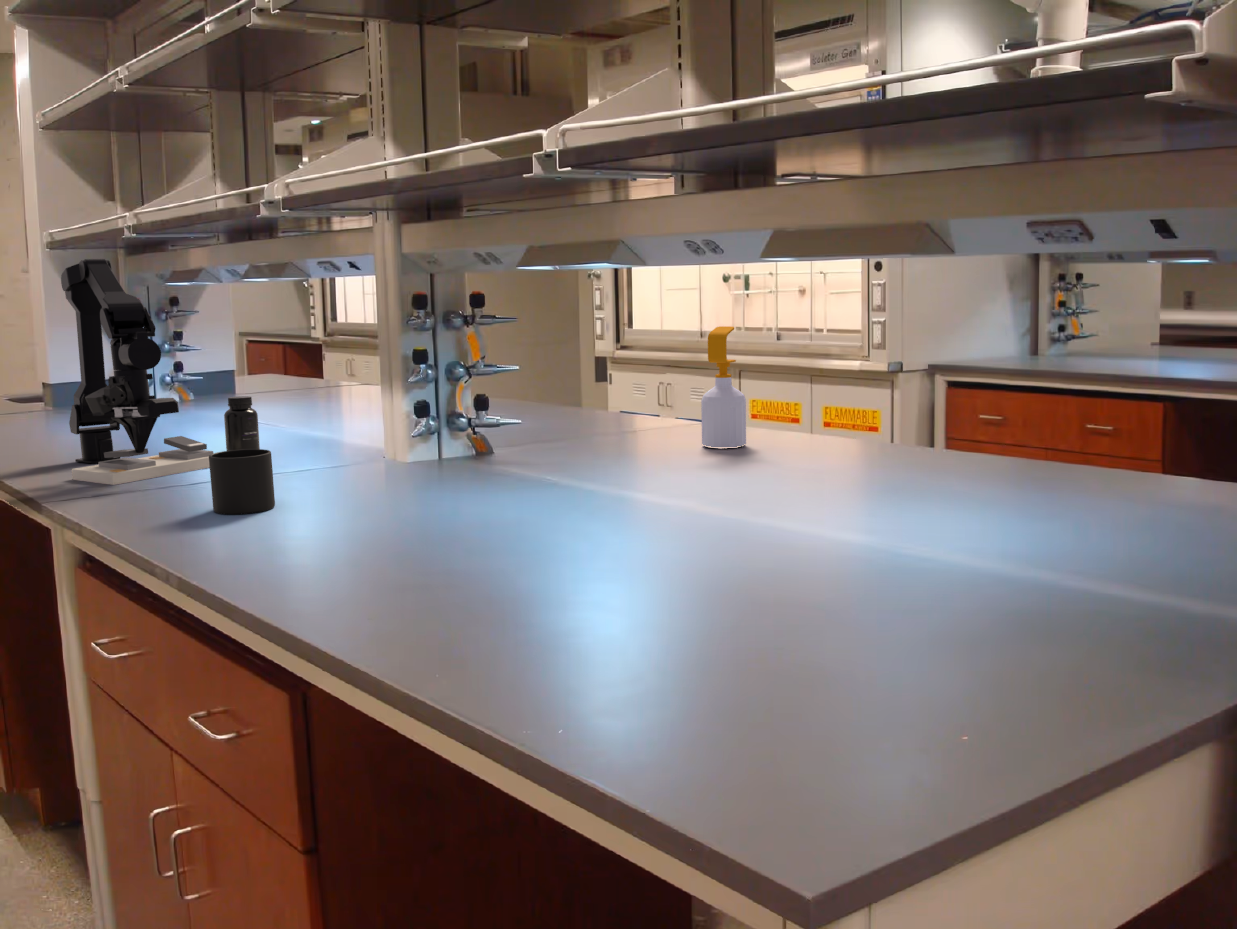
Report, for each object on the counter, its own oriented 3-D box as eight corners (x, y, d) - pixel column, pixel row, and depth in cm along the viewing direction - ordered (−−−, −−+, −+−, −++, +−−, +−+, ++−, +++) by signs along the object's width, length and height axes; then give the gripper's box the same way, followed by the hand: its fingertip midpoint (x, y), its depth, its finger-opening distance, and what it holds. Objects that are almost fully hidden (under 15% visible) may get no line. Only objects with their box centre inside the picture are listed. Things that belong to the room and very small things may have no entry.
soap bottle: (753, 444, 235) (752, 325, 231) (733, 450, 228) (732, 328, 224) (714, 442, 240) (713, 325, 236) (694, 448, 232) (692, 327, 228)
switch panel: (72, 479, 213) (70, 464, 213) (186, 460, 234) (185, 446, 234) (113, 485, 206) (111, 469, 206) (227, 464, 227) (226, 450, 227)
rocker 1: (104, 457, 215) (103, 452, 215) (123, 454, 219) (122, 449, 219) (129, 456, 211) (128, 450, 211) (148, 453, 214) (147, 447, 214)
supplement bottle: (254, 455, 239) (249, 398, 237) (222, 455, 239) (217, 399, 237) (264, 450, 246) (260, 394, 244) (233, 450, 246) (229, 395, 244)
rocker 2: (163, 443, 226) (163, 438, 226) (181, 440, 229) (181, 435, 229) (189, 452, 222) (189, 446, 222) (206, 449, 225) (206, 443, 225)
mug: (270, 498, 189) (266, 445, 188) (278, 511, 179) (274, 454, 177) (210, 504, 186) (206, 449, 184) (215, 517, 175) (210, 460, 174)
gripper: (60, 374, 209) (71, 457, 211) (120, 372, 198) (131, 460, 200) (115, 369, 218) (125, 449, 220) (175, 367, 208) (185, 451, 210)
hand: (140, 452), depth 212 cm, fingers closed
